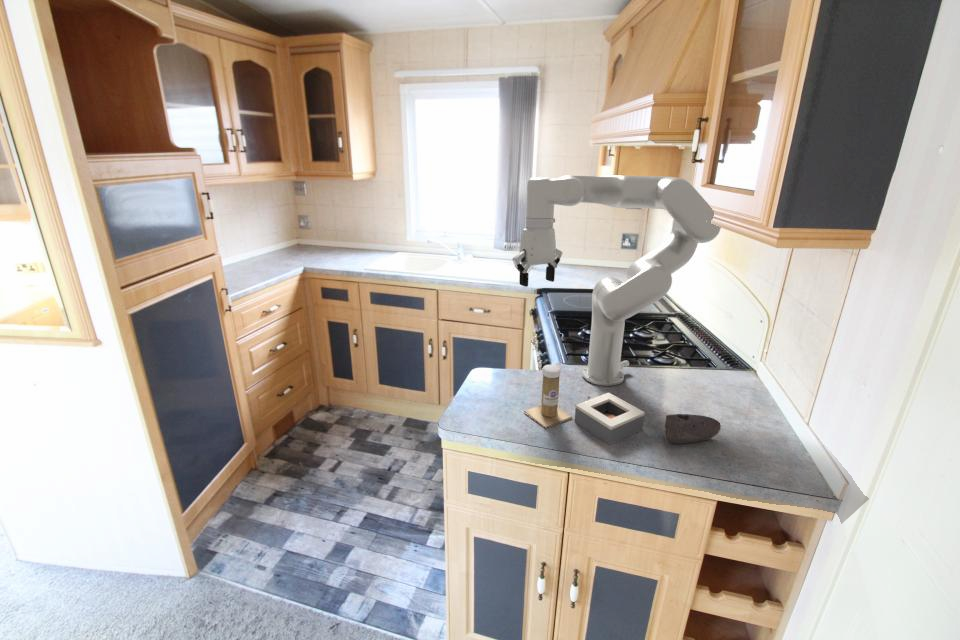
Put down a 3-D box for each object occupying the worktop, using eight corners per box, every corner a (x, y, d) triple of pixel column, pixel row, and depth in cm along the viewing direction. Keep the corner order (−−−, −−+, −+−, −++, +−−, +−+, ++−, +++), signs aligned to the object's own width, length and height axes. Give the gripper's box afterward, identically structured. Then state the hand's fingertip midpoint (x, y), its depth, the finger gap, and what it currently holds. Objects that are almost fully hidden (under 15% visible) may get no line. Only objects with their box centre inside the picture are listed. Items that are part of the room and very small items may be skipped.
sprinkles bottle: (547, 419, 120) (549, 373, 115) (537, 411, 124) (539, 365, 119) (561, 415, 122) (564, 369, 117) (551, 407, 126) (553, 362, 121)
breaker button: (607, 417, 121) (608, 412, 120) (621, 425, 117) (621, 420, 117) (595, 422, 119) (595, 417, 118) (608, 431, 115) (609, 425, 114)
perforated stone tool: (712, 432, 115) (717, 408, 113) (724, 444, 110) (730, 419, 108) (655, 435, 114) (658, 411, 112) (665, 448, 109) (669, 423, 107)
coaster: (549, 403, 129) (549, 401, 128) (571, 418, 121) (572, 416, 121) (524, 412, 124) (524, 410, 124) (545, 428, 117) (545, 426, 117)
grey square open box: (606, 408, 126) (608, 392, 124) (642, 429, 116) (644, 412, 115) (574, 421, 120) (575, 404, 118) (609, 444, 110) (611, 426, 109)
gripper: (554, 219, 135) (551, 276, 141) (506, 224, 126) (505, 284, 132) (572, 222, 129) (568, 281, 135) (522, 228, 120) (521, 290, 126)
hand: (537, 283), depth 134 cm, fingers open, 9 cm apart
